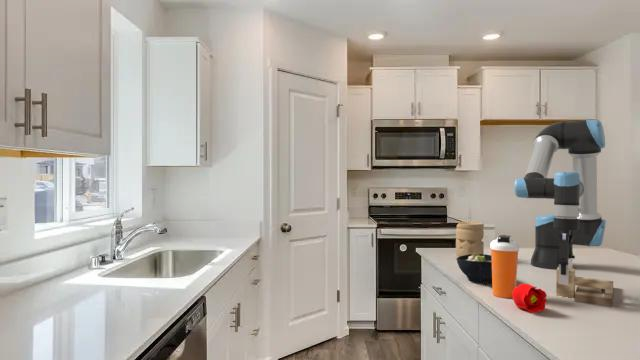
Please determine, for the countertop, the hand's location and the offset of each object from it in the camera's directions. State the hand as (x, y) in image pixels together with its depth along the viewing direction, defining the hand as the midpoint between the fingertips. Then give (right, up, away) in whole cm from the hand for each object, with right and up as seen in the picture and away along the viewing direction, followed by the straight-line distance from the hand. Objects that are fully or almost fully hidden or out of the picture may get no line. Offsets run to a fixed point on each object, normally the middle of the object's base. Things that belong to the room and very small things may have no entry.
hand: (565, 280), depth 142 cm
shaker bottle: (-21, -5, 0) cm, 21 cm away
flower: (-20, -5, -15) cm, 25 cm away
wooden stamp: (+4, -5, -2) cm, 7 cm away
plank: (+11, -5, +2) cm, 13 cm away
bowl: (-21, -5, +20) cm, 30 cm away
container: (-11, -5, +61) cm, 62 cm away
